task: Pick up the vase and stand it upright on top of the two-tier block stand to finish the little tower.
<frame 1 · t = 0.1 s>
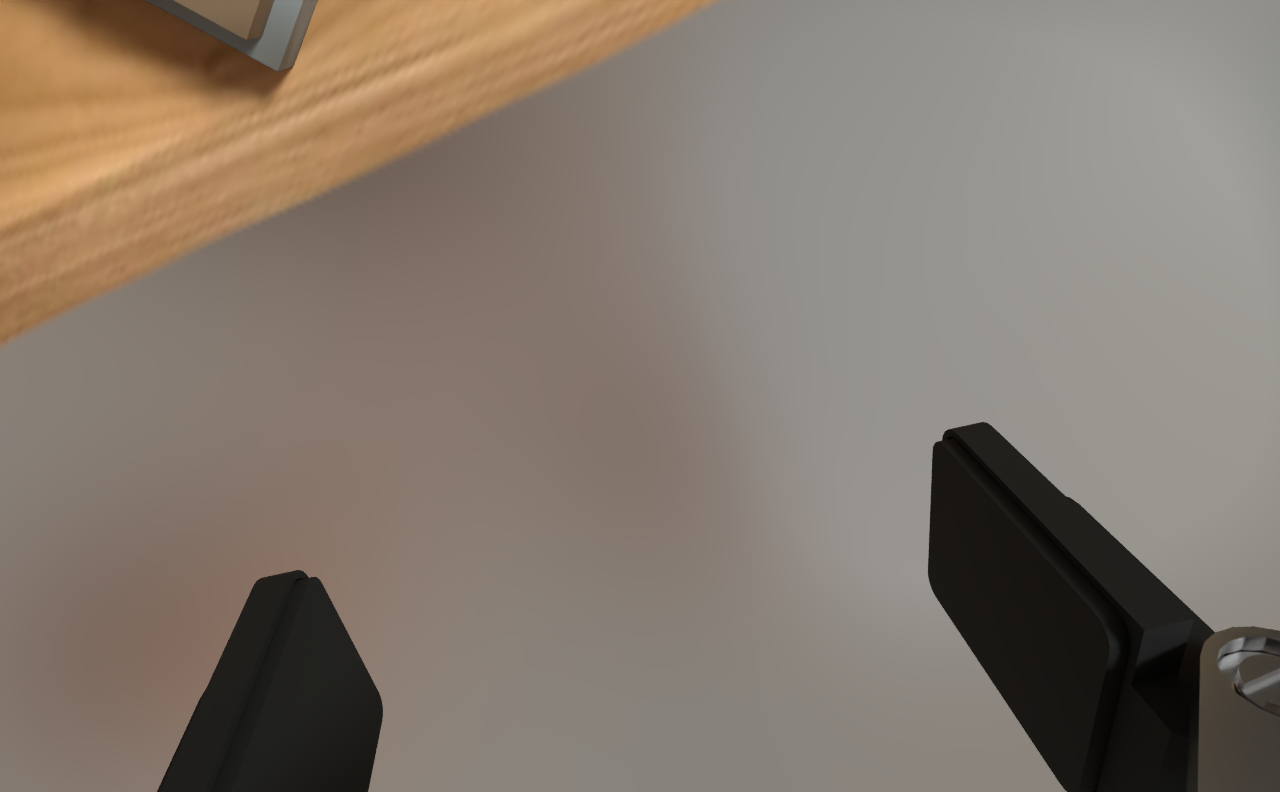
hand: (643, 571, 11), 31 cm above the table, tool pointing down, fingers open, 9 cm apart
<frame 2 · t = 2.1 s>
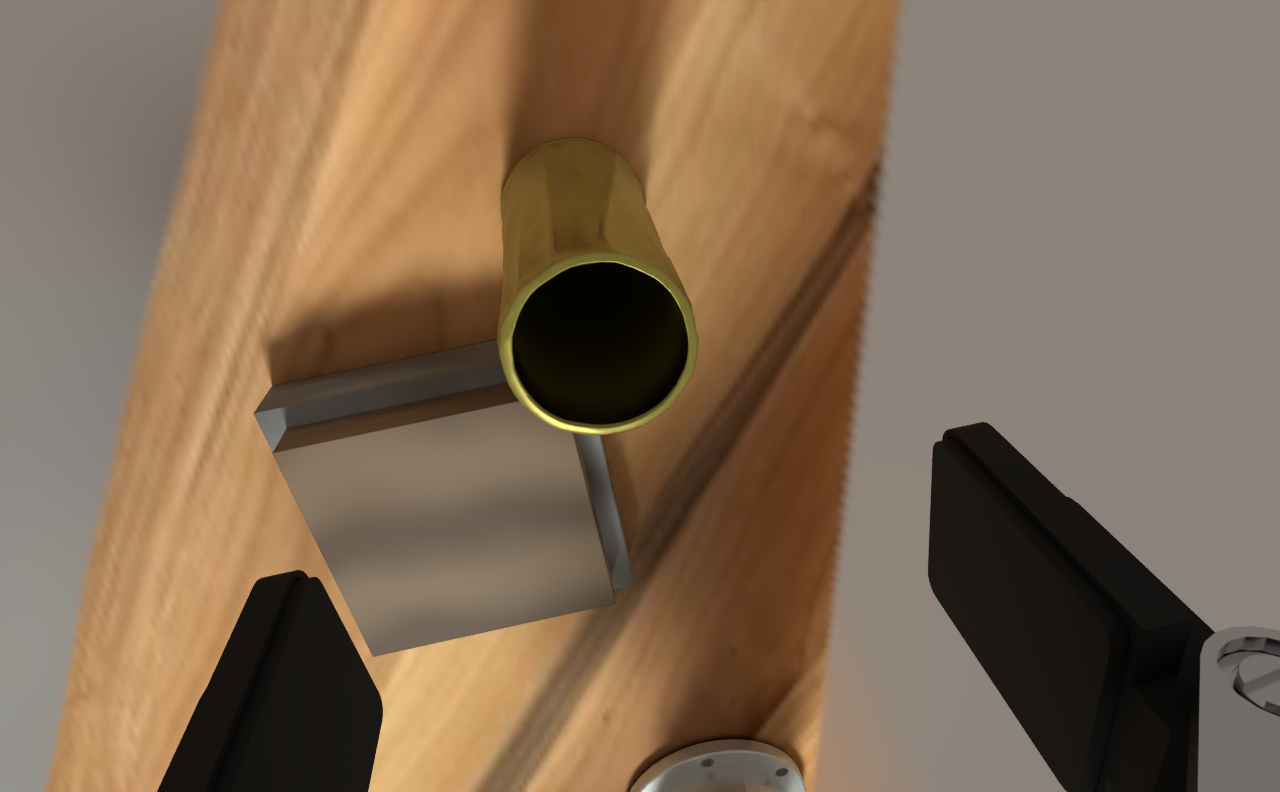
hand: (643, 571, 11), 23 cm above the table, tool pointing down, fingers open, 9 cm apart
stand: (467, 478, 37), on the table
vase: (573, 210, 32), on the table
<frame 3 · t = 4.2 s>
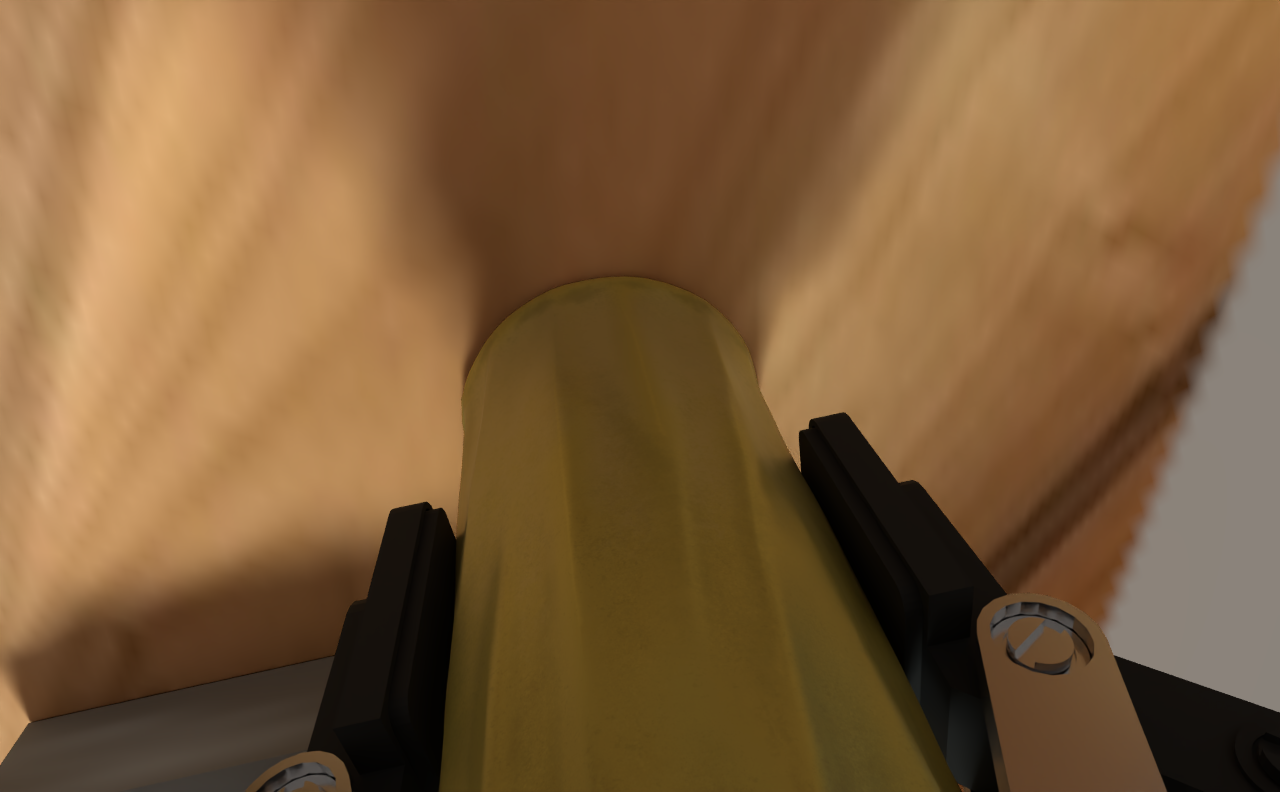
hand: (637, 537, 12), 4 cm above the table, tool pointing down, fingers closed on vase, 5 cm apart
vase: (612, 406, 16), on the table, touching gripper
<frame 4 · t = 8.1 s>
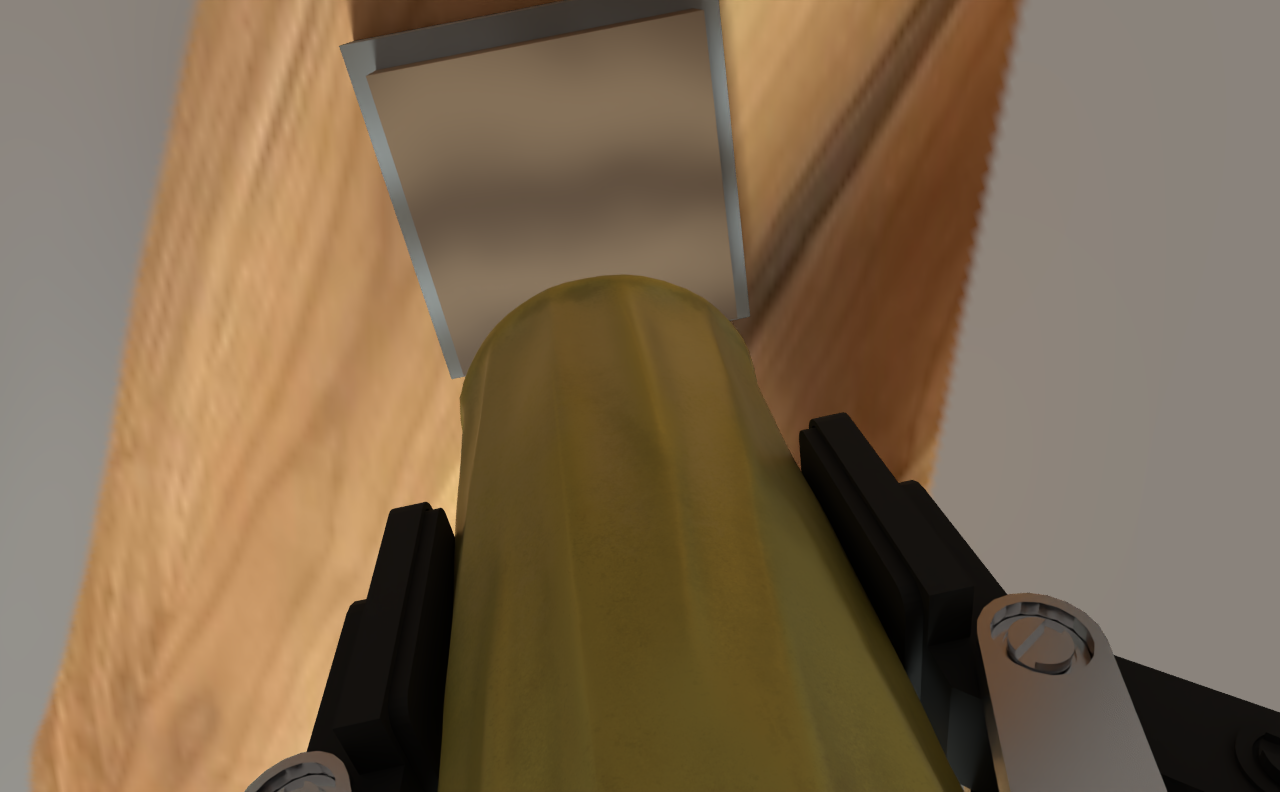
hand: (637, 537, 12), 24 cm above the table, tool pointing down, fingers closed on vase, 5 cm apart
stand: (566, 183, 33), on the table
vase: (611, 405, 16), point 20 cm above the table, touching gripper
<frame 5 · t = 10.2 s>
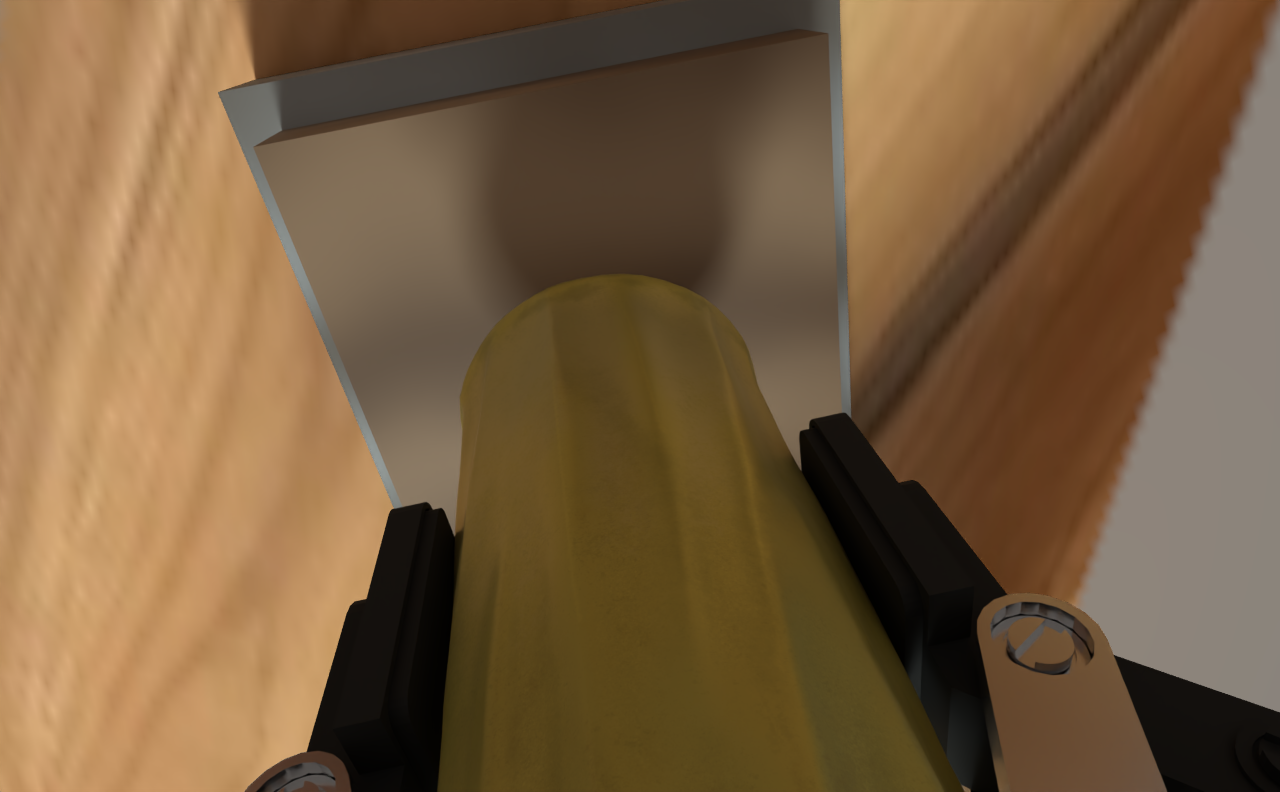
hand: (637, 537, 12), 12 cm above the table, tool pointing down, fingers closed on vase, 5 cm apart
stand: (587, 284, 22), on the table
vase: (611, 405, 16), point 7 cm above the table, touching gripper
when the fingers open (11 cm above the table, at t = 12.1 s): vase drops 2 cm, resting on stand.
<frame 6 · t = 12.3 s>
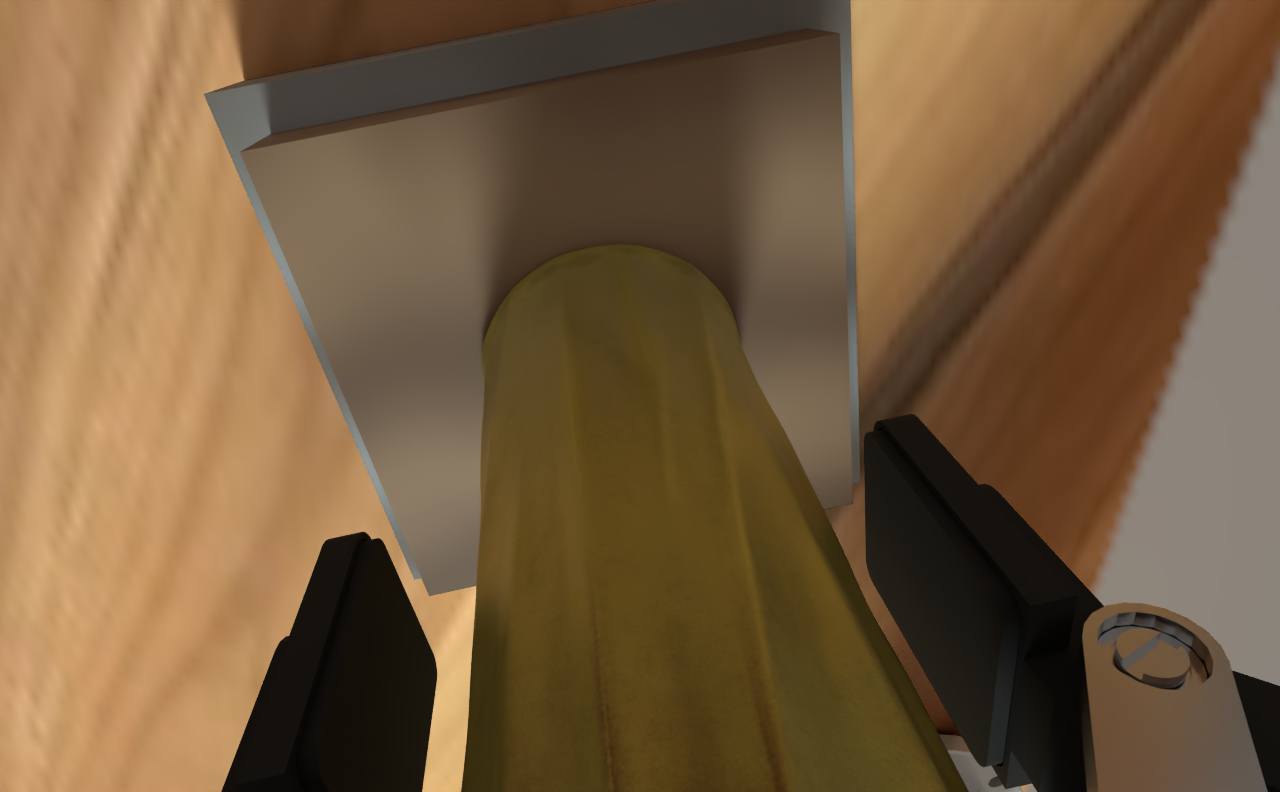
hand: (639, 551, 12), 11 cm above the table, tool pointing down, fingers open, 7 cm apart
stand: (588, 291, 21), on the table
vase: (613, 361, 18), point 4 cm above the table, touching stand
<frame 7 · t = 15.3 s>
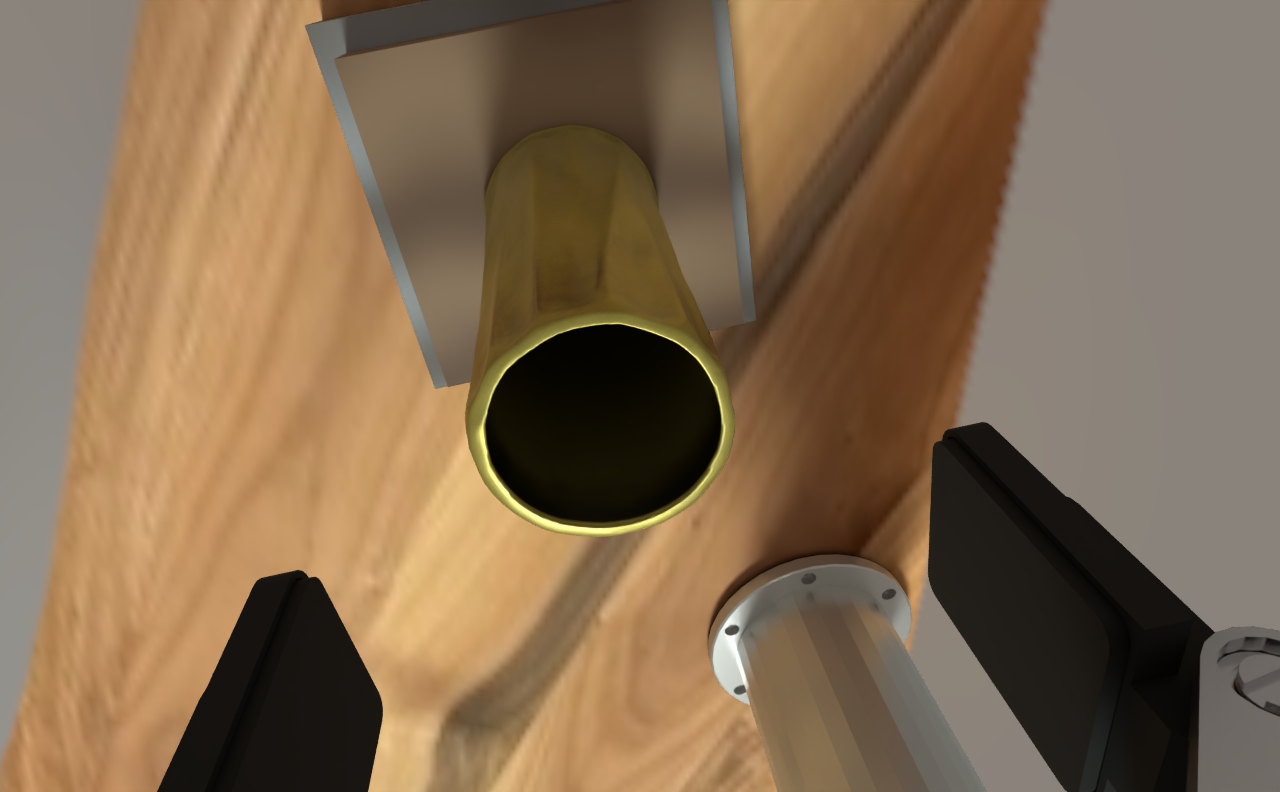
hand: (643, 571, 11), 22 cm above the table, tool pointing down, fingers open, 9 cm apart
stand: (558, 177, 30), on the table
vase: (572, 211, 27), point 4 cm above the table, touching stand
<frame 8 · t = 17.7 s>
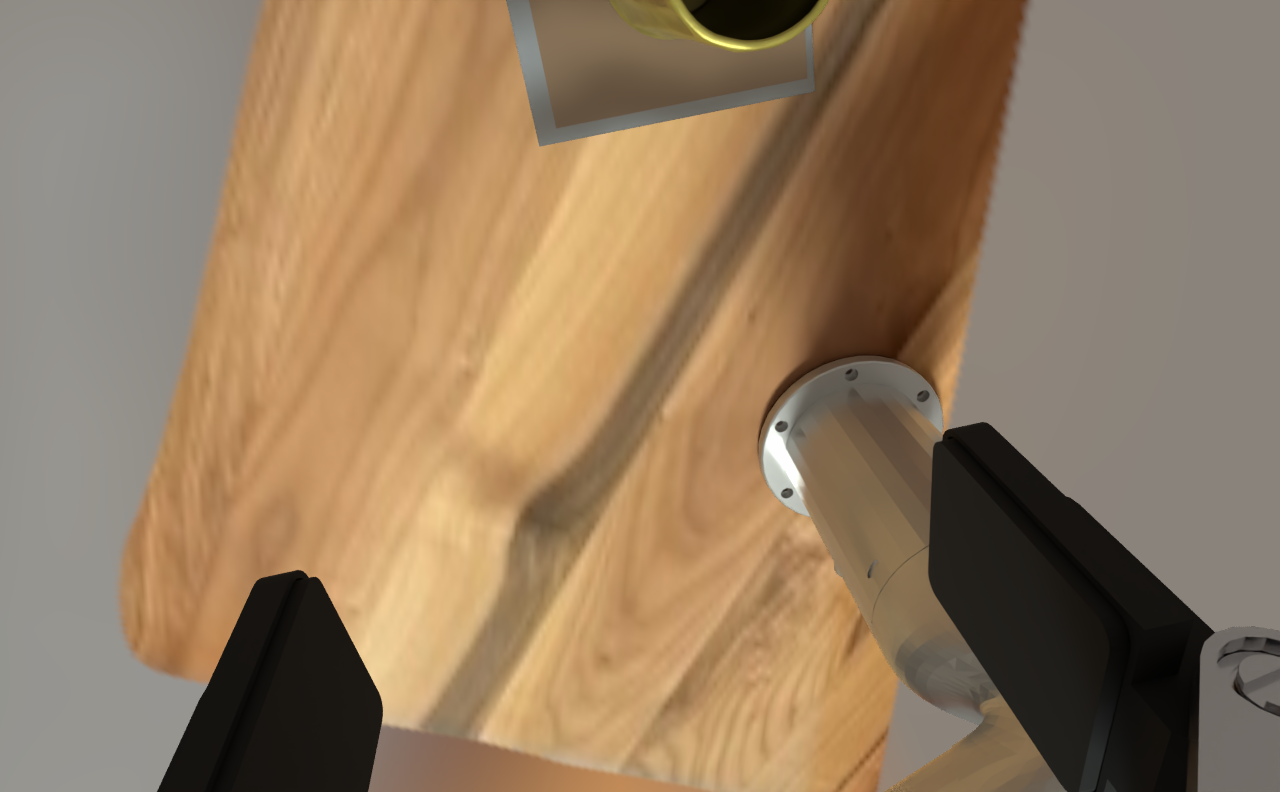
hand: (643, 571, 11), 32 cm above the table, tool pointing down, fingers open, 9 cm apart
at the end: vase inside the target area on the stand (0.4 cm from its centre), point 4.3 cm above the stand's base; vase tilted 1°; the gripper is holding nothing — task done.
